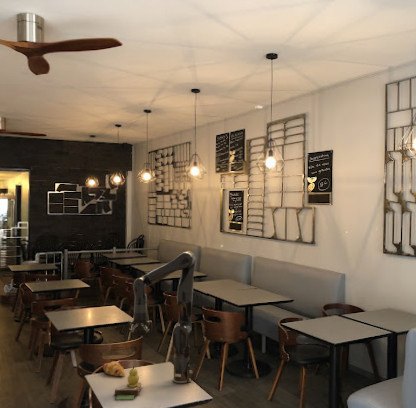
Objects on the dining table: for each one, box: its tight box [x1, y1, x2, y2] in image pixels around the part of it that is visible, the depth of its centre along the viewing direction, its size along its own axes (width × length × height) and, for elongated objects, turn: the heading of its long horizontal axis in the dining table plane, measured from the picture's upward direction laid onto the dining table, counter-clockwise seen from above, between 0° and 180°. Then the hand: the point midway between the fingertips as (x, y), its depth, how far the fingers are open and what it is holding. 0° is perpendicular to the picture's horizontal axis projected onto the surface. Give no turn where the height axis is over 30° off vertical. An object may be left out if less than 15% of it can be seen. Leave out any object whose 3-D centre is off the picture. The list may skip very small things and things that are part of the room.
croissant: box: [102, 360, 126, 377], centre depth 277 cm, size 21×10×8 cm, turn 50°
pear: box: [127, 365, 140, 388], centre depth 258 cm, size 6×6×11 cm
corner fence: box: [114, 382, 142, 397], centre depth 249 cm, size 12×11×3 cm
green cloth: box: [115, 395, 136, 401], centre depth 241 cm, size 9×5×1 cm, turn 93°
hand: (139, 338), depth 270 cm, fingers open, 8 cm apart
